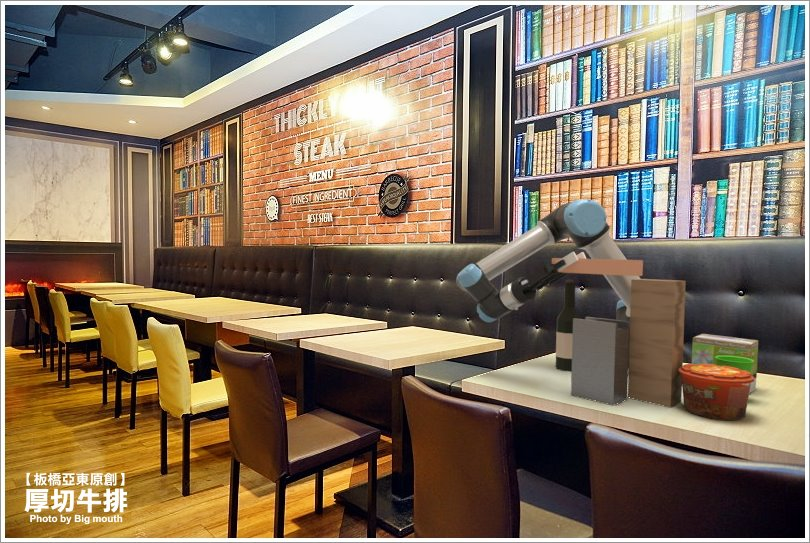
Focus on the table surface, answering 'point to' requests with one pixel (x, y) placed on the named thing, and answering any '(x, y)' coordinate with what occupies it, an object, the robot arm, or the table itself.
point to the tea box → (724, 350)
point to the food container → (715, 390)
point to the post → (656, 340)
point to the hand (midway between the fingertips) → (580, 256)
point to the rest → (600, 359)
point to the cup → (735, 362)
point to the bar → (604, 267)
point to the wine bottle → (566, 329)
